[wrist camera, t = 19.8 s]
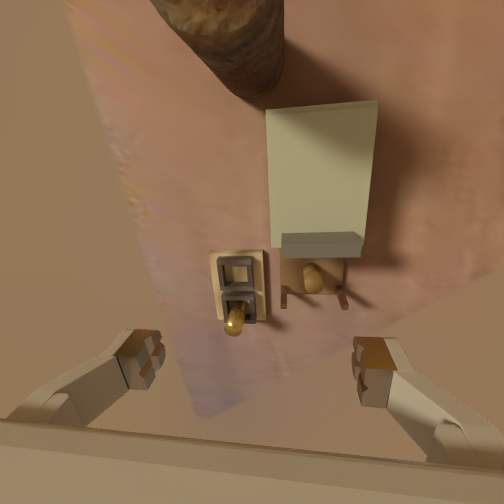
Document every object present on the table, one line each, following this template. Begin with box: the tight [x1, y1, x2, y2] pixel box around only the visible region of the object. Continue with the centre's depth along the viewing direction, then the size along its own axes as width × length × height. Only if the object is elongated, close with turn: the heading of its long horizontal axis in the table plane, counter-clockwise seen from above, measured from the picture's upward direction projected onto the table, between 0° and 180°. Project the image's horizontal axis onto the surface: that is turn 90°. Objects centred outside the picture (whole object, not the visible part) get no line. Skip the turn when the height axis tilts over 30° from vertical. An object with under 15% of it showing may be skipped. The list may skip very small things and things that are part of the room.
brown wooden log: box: [150, 0, 284, 99], centre depth 20 cm, size 8×7×20 cm
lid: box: [266, 100, 378, 258], centre depth 28 cm, size 11×15×9 cm
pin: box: [224, 300, 248, 336], centre depth 39 cm, size 2×2×6 cm
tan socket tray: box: [209, 250, 267, 324], centre depth 40 cm, size 8×12×2 cm, turn 4°
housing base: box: [280, 248, 349, 310], centre depth 35 cm, size 9×14×6 cm, turn 4°
